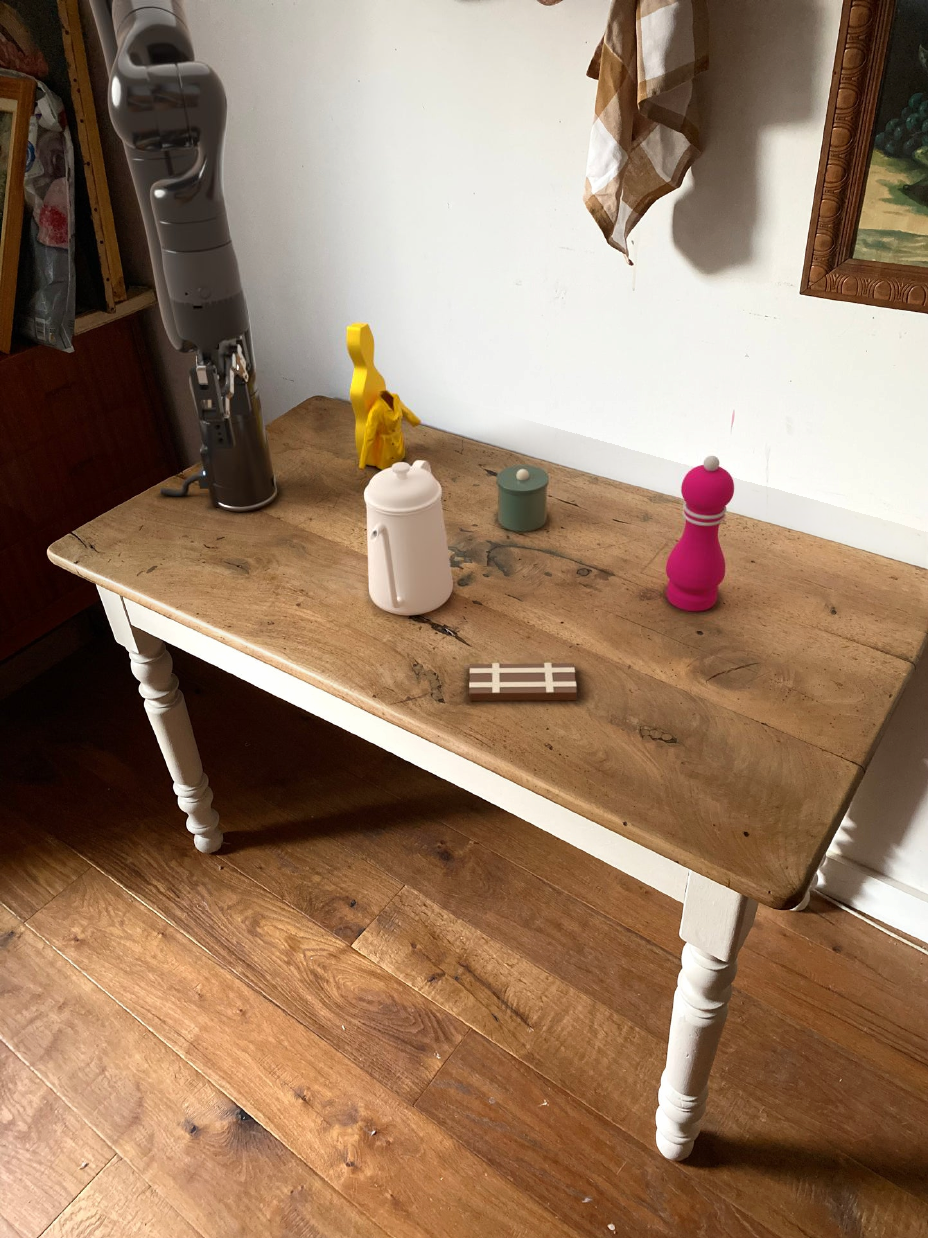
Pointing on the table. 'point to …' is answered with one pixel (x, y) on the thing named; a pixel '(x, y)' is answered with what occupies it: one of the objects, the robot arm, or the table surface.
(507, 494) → the canister
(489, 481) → the table surface
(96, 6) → the robot arm
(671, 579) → the pepper mill
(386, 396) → the figure statuette
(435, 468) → the table surface
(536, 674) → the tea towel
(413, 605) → the coffeepot
